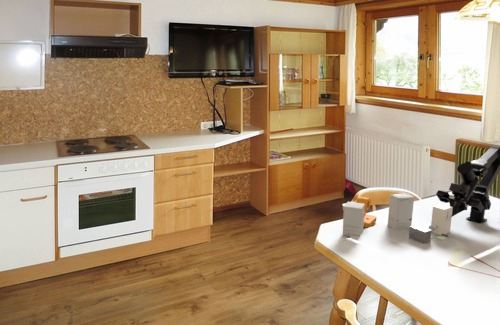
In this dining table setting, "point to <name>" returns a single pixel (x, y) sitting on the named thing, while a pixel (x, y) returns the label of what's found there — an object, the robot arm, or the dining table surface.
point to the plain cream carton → (441, 219)
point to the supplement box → (353, 218)
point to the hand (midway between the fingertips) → (449, 216)
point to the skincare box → (400, 211)
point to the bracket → (368, 219)
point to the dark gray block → (420, 234)
